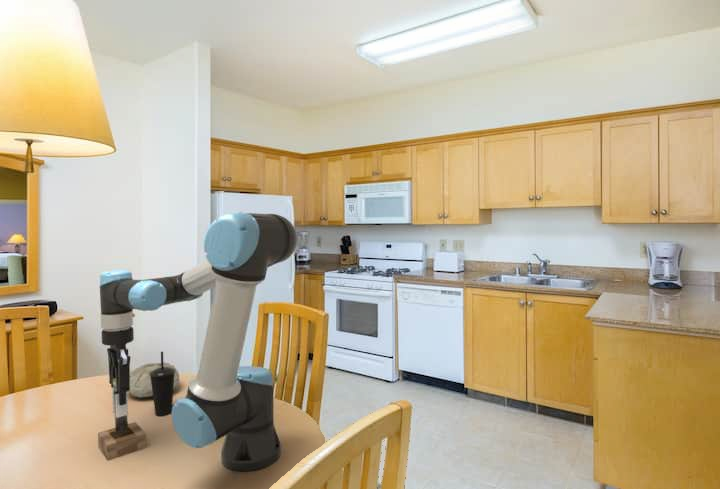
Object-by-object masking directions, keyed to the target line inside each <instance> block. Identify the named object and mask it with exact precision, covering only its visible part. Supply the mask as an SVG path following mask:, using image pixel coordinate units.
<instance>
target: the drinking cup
mask: <svg viewBox="0 0 720 489" xmlns="http://www.w3.org/2000/svg"><path fill="white" fill-rule="evenodd" d="M160 363H161V367H159V368H157V369H155V370H153V371H151V372H150V373H149V375H150V377H151V384H152V392H153V396H152V399H153V406H154V414H155V416H157V417H165V416H168V415H170V414H172V409H173V401H174V400H173V398H174V389H173V387H174V373H175V369H174V368H170V367H164V366H163V363H164V351H160Z"/></svg>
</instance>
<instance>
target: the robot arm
mask: <svg viewBox="0 0 720 489" xmlns="http://www.w3.org/2000/svg"><path fill="white" fill-rule="evenodd" d="M297 245H298V234H297V230H296V228H295V226H294V224H292V222H291V221H290V220H289V219H287V218H286V217H284V216H282V215H280V214H275V213H252V212H249V213H248V212H243V211H240V212H235V213H226V214H222V215H220V216H219V217H218V218H216V219H214V221H212V223H211V224H210V225H209V227H208V228H207V230H206V233H205V235H204V240H203V249H204V250H203V251H204V252H205V253H206V255H205V257H206V260H204V261H202V262H201V263H199V264H197V265H195V266H193V267H191V268H189V269H187V270H186V271H184V272H181V273H180V274H177V275H176V274H175V275H171V276H164V277H155V278H149V279H133V274H132V271H131V270H129V269H128V270H127V269H116V270H107V271H106V270H104V271H103V272H102V273H101V274H100V276H99V280H100V281H99V285H98V286H99V297H100V302H99V303H100V328H101V329H102V330H101V343H102V344H103V345H104V346H109V347H107V349H106V352H107V356H108V357H107V358H108V359H107V360H108V361H107V362H108V377H109V379H108V380H109V384H110V387H111V388H112V389H111V400H112V401H111V404H112V405H111V406H112V408H111V409H112V414H115V411H114V395H115V396H116V417H117V418H118V417H121V416H125V415H127V416H128V415H129V408H128V407H129V401H128V397H129V396H128V391H130V372H131V368H130V367H131V366H130V365H131V359H132V358H131V356H130V355H129V349H128V348H127V346H126V345H127V344H129V343H131V342H133V341H134V337H135V336H134V327H133V325H134V317H135V316H136V314H135V313H134V311H133V310H137V311H142V312H146V311H151V312H153V311H156V310H158V309H159V308H161V307H162V306H167V305H171V304H177V303H183V302H190V301H193V300H197V299H199V298H202V296H203V294H204V293H206V292H207V291H209V290H212V289H214V291H213V296H212V300H211V305H210V312H209V315H208V321H207V326H206V331H205V337H204V341H203V347H202V351H201V352H202V353H201V358H200V362H199V367H198V372H197V374H196V375H193V377H192V378H191V379H190V380H189V382H188V386H187V391H186V395H185V397H180V399H178V400H177V401H176V402H175V403H174V404H173V405H172V412H171V420H172V424H173V428H174V429H175V432H176V434H177V436H178V437H179V438H180V440H181V441H182V442H183V443H184V444H186V445H187V446H188V447H190V448H194V449H202V448H204V447H206V446H208V445H213V444H214V443H215V442H216V441H218V440H220V439H221V438H223V437H225V438H224V441H223V443H222V444H223V445H222V448H221V451H220V452H221V453H220V455H221V456H220V461H221V464H222V465H223V467H224V468H226V469H229V470H231V471H235V472H251V471H258V470H261V469H265V468H266V467H269V466H270V465H272V464H274V463H275V462H276V461H277V460H278V459H279V458H280V456H281V453H282V449H281V448H282V446H281V445H282V444H281V441H280V438H279V435H278V433H277V430H276V427H275V424H274V385H275V384H274V380H273V379H274V378H273V376H274V375H273V372H272V370H270V369H268V368H266V367H263V366H262V367H261V366H255V365H246V366H245V365H243V366H240V364H241V359H242V354H243V351H244V345H245V341H246V337H247V331H248V327H249V321H250V317H251V313H252V309H253V304H254V298H255V293H256V289H257V285H260V284H261V283H263V282H264V281H265V280H266V276H267V272H268V268H269V267H272V266H274V265H277V264H279V263H282V262H284V261H286V260H288V259H289V258H291V257H292V255H293V254H294V253H295V252H296V250H297V249H296V248H297ZM115 377H116V389H117V391H116V392H114V391H113V378H115Z"/></svg>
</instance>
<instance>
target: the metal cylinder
mask: <svg viewBox="0 0 720 489" xmlns="http://www.w3.org/2000/svg"><path fill="white" fill-rule="evenodd" d="M112 389H113V391H114V392H116V391H117V389H116V377H115V378H113V388H112ZM114 411H115V413H114V425H115V426H114V428H115V430H116V431H122V430H125V429H127V428H128V424H129V421H128V415H125V416H121V417H118V418H117V417H116V396H115V395H114Z"/></svg>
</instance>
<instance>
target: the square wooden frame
mask: <svg viewBox="0 0 720 489" xmlns="http://www.w3.org/2000/svg"><path fill="white" fill-rule="evenodd" d="M97 441H98V443H97V444H98V449H99V450H100V451H101V453H102V455H103V456H104V458H105V459H106V461H110V460H113V459H116V458H119V457H122V456H125V455H127V454H133V453H135V452H138V451H141V450H143V449H146V448H147V432H145V431H144V430H143V429H142V428H141V426H140V425H139V424H138V423H137V422H135V421H134V422H131V423H128V428H127V429H125V430H122V431H116V430H115V427H114V428H110V429H106V430H103V431H99V432H98V433H97Z"/></svg>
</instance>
